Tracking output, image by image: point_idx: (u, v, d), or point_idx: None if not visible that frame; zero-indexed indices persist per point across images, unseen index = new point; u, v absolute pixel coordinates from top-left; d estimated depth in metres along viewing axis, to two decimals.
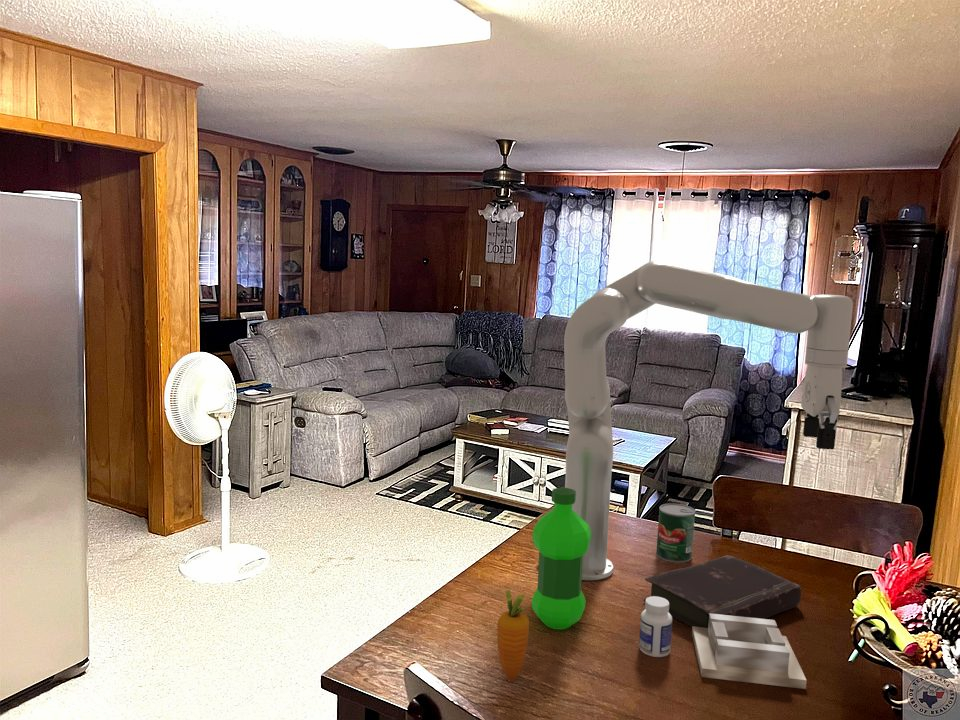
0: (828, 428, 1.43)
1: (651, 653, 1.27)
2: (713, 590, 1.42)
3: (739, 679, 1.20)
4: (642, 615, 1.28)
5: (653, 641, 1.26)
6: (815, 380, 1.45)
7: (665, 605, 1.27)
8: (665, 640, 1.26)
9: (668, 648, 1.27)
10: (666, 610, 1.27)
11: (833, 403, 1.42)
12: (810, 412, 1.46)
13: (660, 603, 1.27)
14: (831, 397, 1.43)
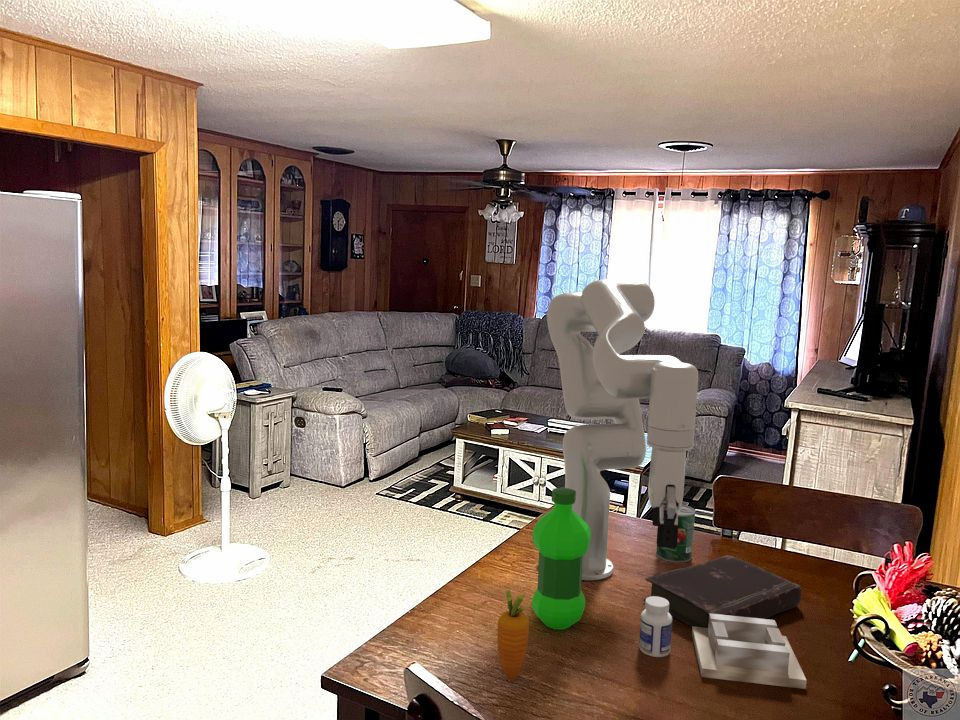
0: (668, 524, 1.20)
1: (651, 653, 1.27)
2: (713, 590, 1.43)
3: (739, 679, 1.20)
4: (642, 615, 1.28)
5: (653, 641, 1.26)
6: (654, 465, 1.22)
7: (665, 605, 1.27)
8: (665, 640, 1.26)
9: (668, 648, 1.27)
10: (666, 610, 1.27)
11: (672, 495, 1.18)
12: (650, 502, 1.23)
13: (660, 603, 1.27)
14: (671, 486, 1.20)
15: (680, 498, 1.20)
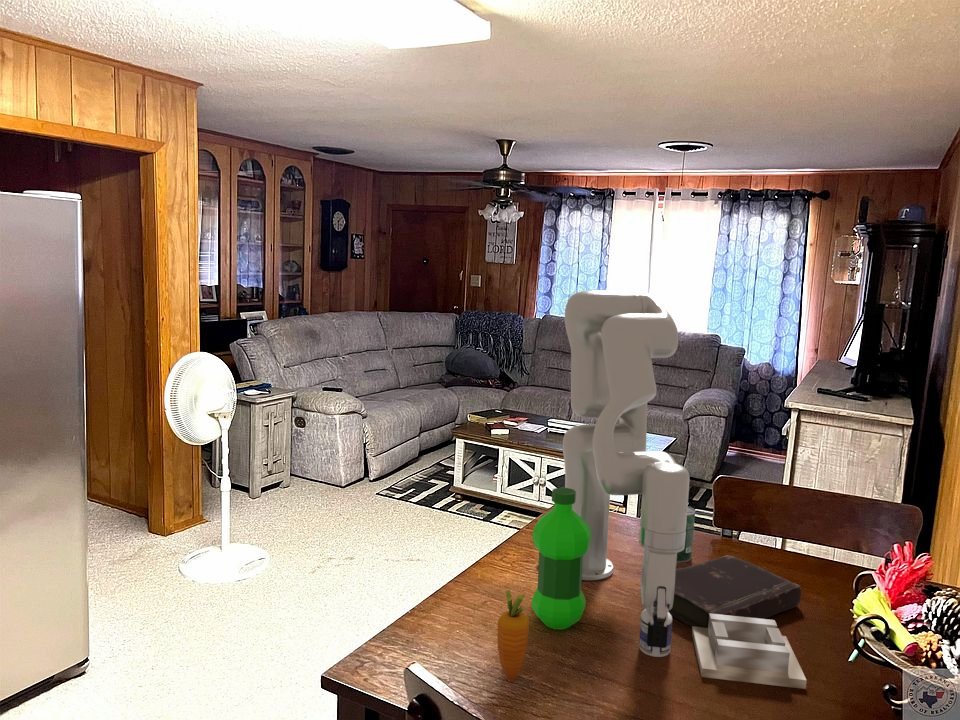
0: (658, 625, 1.24)
1: (651, 652, 1.27)
2: (713, 590, 1.43)
3: (739, 679, 1.20)
4: (642, 615, 1.28)
5: None
6: (645, 566, 1.24)
7: None
8: None
9: (668, 648, 1.27)
10: None
11: (662, 603, 1.22)
12: (642, 601, 1.25)
13: None
14: (662, 591, 1.23)
15: (671, 599, 1.22)
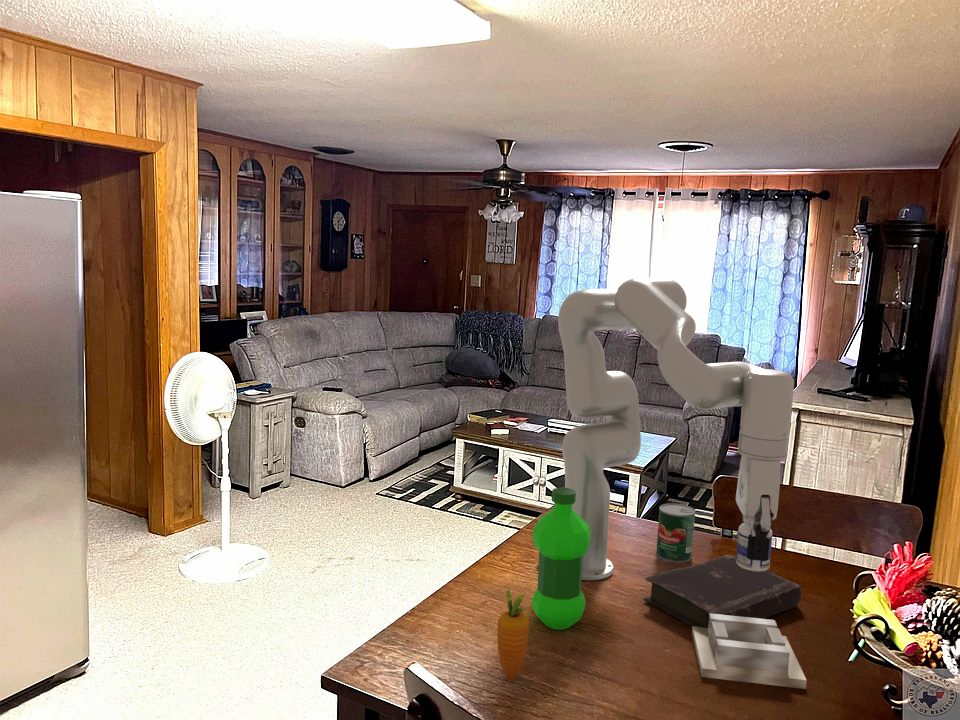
0: (760, 537, 1.19)
1: (750, 567, 1.22)
2: (713, 590, 1.43)
3: (739, 679, 1.20)
4: (740, 529, 1.23)
5: None
6: (748, 475, 1.19)
7: None
8: None
9: (768, 562, 1.22)
10: None
11: (767, 511, 1.17)
12: (743, 512, 1.21)
13: (759, 515, 1.23)
14: (766, 500, 1.18)
15: (775, 508, 1.18)
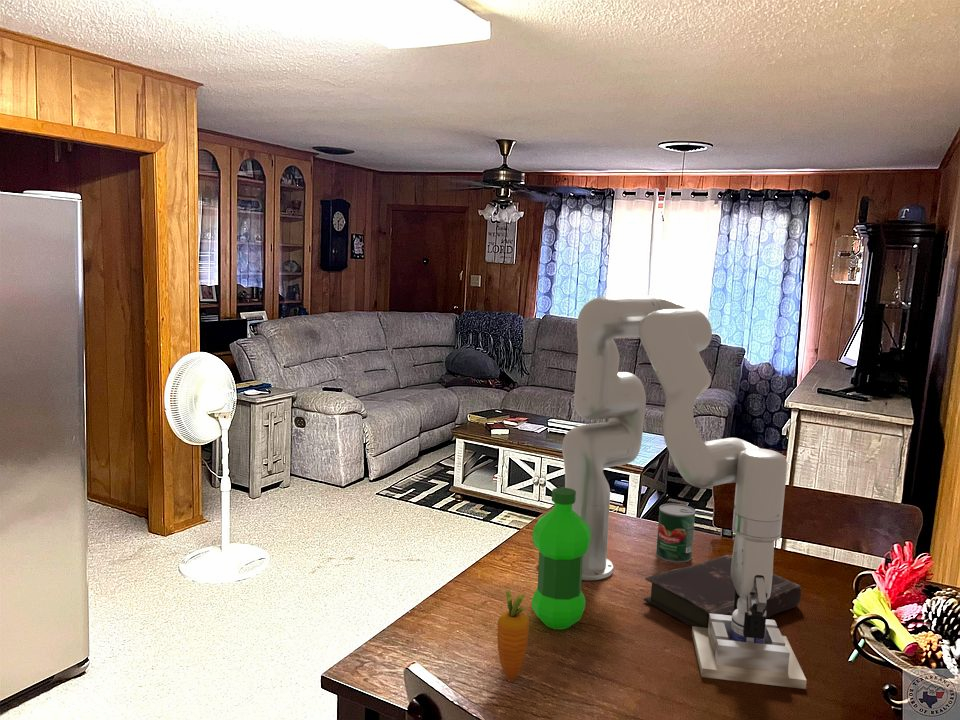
0: (756, 615, 1.20)
1: None
2: (713, 590, 1.43)
3: (739, 679, 1.20)
4: (734, 615, 1.25)
5: None
6: (742, 555, 1.21)
7: None
8: (758, 642, 1.24)
9: None
10: None
11: (762, 588, 1.18)
12: (737, 591, 1.22)
13: None
14: (760, 578, 1.19)
15: (769, 589, 1.20)
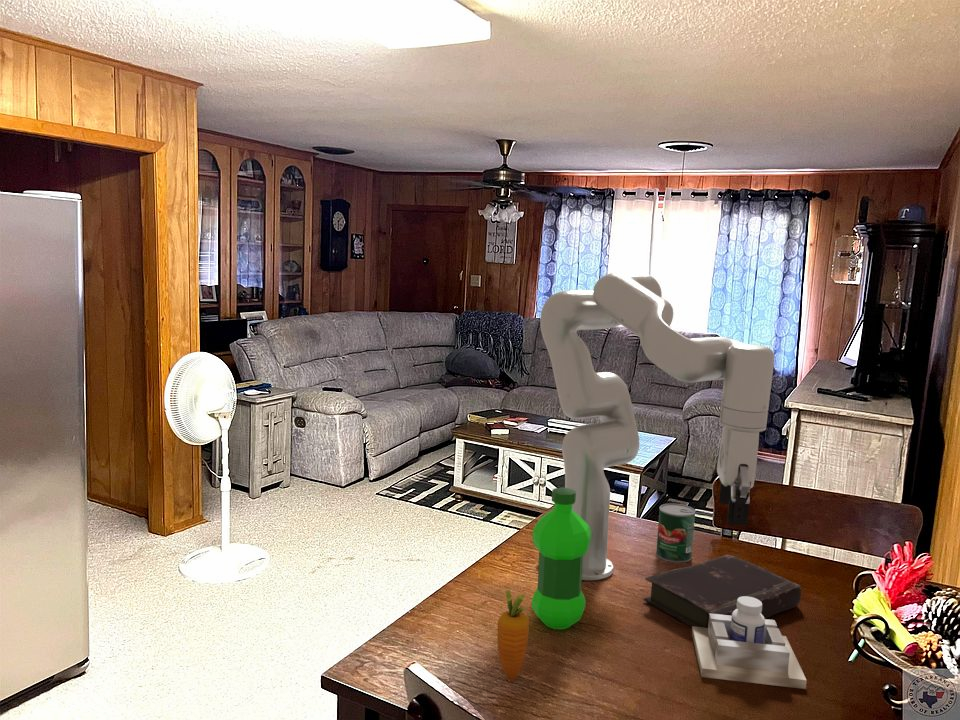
0: (740, 502, 1.23)
1: None
2: (713, 589, 1.43)
3: (739, 679, 1.20)
4: (734, 615, 1.26)
5: None
6: (727, 445, 1.24)
7: (759, 605, 1.24)
8: (758, 641, 1.24)
9: None
10: (760, 610, 1.24)
11: (745, 474, 1.21)
12: (722, 481, 1.26)
13: (753, 603, 1.25)
14: (744, 466, 1.23)
15: (752, 477, 1.23)
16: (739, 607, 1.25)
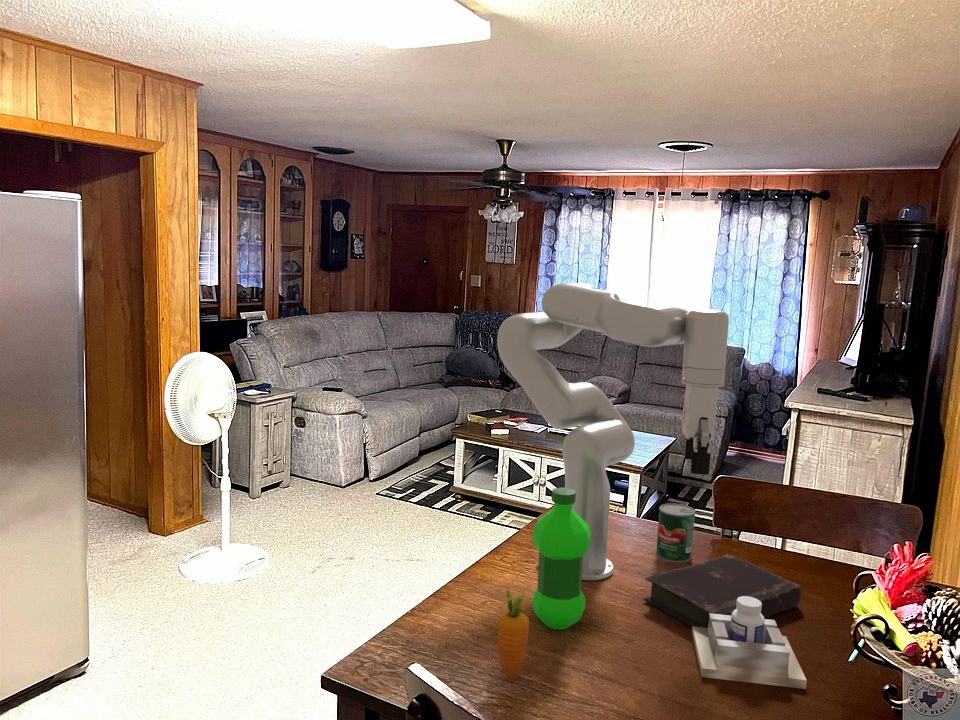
0: (701, 452, 1.34)
1: None
2: (713, 589, 1.43)
3: (739, 679, 1.20)
4: (734, 615, 1.26)
5: None
6: (689, 401, 1.36)
7: (758, 605, 1.24)
8: (758, 641, 1.24)
9: None
10: (759, 610, 1.24)
11: (705, 426, 1.33)
12: (685, 434, 1.37)
13: (752, 603, 1.25)
14: (705, 419, 1.34)
15: (712, 429, 1.34)
16: (739, 607, 1.25)
